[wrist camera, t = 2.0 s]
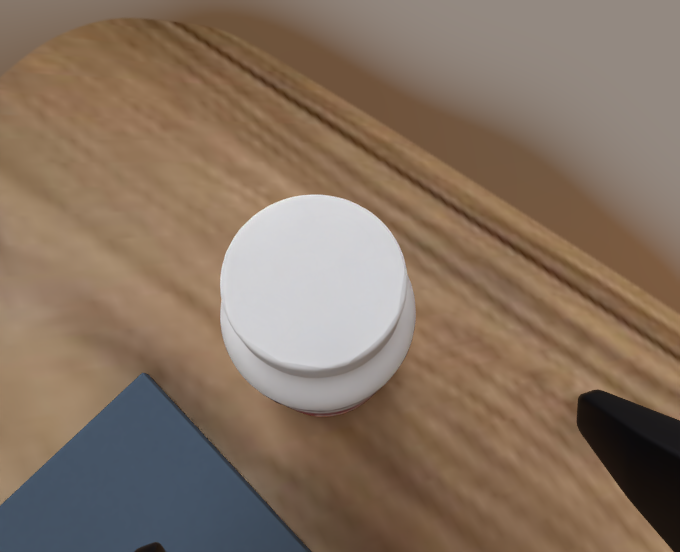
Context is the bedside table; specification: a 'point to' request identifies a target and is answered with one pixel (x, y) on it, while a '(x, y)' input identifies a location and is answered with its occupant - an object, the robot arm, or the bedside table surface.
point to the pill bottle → (316, 304)
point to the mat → (141, 489)
